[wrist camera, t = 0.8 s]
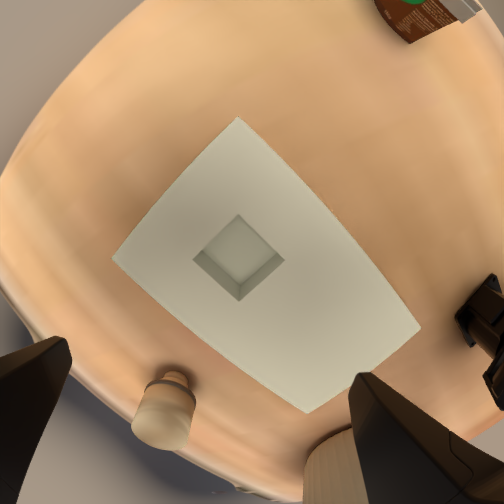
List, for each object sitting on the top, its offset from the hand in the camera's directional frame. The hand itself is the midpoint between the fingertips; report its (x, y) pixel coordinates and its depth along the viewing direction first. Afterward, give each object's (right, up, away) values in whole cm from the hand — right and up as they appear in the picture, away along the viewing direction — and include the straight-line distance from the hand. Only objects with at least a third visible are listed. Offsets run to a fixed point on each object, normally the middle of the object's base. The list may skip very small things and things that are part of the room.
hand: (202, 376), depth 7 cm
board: (+3, +1, +14) cm, 15 cm away
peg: (-6, -9, +17) cm, 20 cm away
